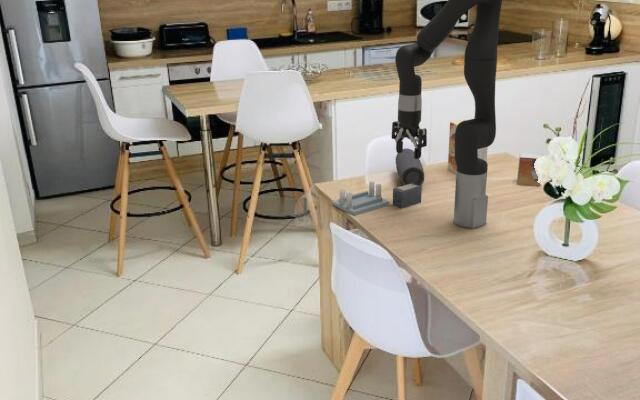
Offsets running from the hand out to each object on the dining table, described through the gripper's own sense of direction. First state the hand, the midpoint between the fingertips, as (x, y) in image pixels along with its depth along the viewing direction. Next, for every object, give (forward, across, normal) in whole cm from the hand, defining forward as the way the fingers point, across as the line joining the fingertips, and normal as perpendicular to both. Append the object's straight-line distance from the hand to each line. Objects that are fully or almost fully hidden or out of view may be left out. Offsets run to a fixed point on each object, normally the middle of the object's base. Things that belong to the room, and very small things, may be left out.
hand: (408, 155), depth 213 cm
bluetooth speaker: (+18, +16, -16) cm, 28 cm away
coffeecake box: (+18, +8, -38) cm, 42 cm away
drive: (+17, 0, 0) cm, 17 cm away
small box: (+17, -13, -48) cm, 53 cm away
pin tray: (+17, +9, +13) cm, 23 cm away
